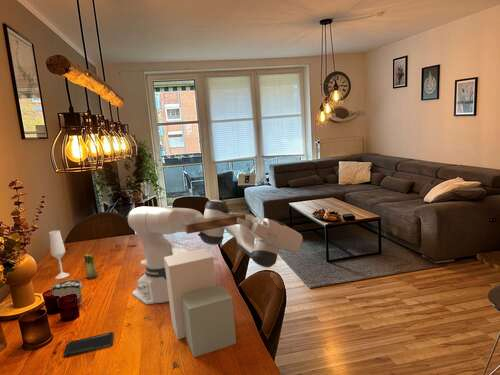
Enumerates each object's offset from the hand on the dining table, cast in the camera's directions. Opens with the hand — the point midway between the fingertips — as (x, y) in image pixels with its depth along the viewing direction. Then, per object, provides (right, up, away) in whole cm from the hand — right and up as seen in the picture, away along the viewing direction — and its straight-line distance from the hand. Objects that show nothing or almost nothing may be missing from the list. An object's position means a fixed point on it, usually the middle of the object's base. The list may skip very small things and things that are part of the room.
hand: (233, 218), depth 122 cm
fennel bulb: (-74, -35, +54) cm, 98 cm away
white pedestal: (-14, -39, +2) cm, 41 cm away
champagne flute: (-92, -36, +59) cm, 115 cm away
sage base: (-7, -40, -8) cm, 41 cm away
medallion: (-41, -30, +73) cm, 89 cm away
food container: (-70, -39, +27) cm, 85 cm away
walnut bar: (-6, -3, -2) cm, 7 cm away
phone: (-48, -43, -4) cm, 65 cm away
